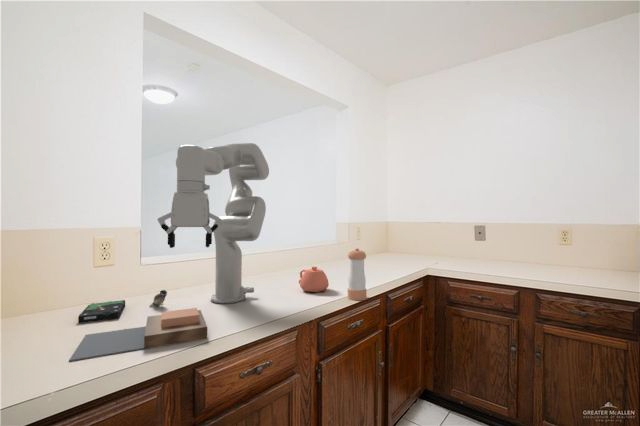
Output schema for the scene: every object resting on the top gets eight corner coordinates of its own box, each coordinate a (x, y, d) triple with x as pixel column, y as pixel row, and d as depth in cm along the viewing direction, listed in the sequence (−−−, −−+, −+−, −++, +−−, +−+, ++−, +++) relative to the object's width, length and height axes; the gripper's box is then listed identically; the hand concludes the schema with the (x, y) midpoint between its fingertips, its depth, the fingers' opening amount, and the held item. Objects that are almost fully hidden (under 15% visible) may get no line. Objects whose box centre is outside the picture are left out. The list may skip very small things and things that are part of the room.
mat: (147, 327, 86) (147, 326, 86) (144, 349, 72) (144, 347, 72) (85, 335, 79) (85, 334, 79) (68, 361, 65) (68, 360, 65)
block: (196, 314, 88) (196, 307, 88) (199, 322, 81) (199, 314, 81) (161, 319, 83) (161, 312, 83) (161, 327, 77) (161, 319, 77)
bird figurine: (172, 306, 107) (171, 289, 106) (156, 311, 102) (155, 293, 102) (163, 303, 110) (162, 287, 109) (148, 308, 105) (147, 291, 105)
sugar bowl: (318, 295, 122) (318, 270, 122) (290, 291, 129) (291, 267, 129) (333, 289, 132) (333, 266, 132) (307, 285, 140) (307, 263, 140)
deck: (200, 319, 92) (200, 309, 92) (207, 338, 78) (207, 326, 78) (147, 327, 86) (147, 316, 86) (144, 349, 72) (144, 336, 72)
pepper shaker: (370, 297, 118) (370, 248, 119) (358, 301, 113) (358, 249, 114) (355, 294, 123) (355, 247, 124) (343, 297, 118) (343, 248, 119)
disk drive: (120, 320, 93) (125, 307, 107) (120, 311, 93) (125, 299, 107) (77, 325, 89) (88, 311, 102) (77, 316, 89) (89, 302, 102)
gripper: (222, 190, 95) (222, 245, 94) (162, 189, 91) (161, 246, 90) (220, 188, 87) (220, 247, 87) (154, 186, 83) (153, 248, 83)
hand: (190, 247), depth 89 cm, fingers open, 9 cm apart
